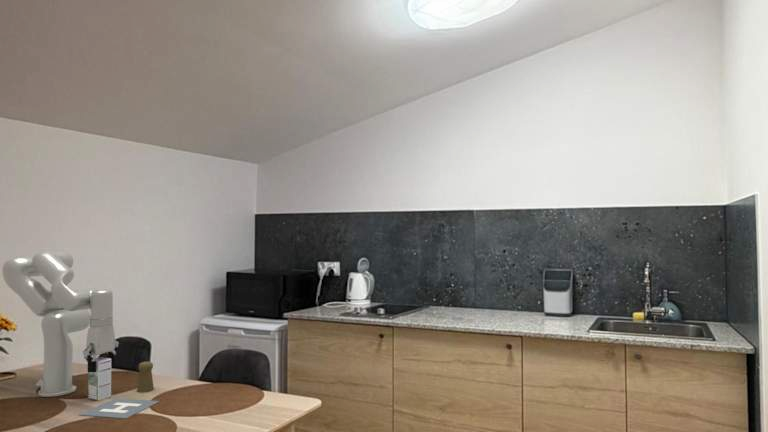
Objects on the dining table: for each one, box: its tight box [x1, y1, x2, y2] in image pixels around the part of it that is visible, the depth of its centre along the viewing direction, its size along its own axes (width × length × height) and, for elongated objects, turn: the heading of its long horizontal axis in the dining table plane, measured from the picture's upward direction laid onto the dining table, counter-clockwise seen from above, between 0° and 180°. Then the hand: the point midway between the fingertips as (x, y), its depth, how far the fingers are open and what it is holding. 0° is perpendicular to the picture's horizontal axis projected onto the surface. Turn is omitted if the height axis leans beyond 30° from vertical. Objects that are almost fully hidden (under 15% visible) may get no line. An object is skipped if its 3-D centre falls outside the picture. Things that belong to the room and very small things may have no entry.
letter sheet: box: [78, 397, 160, 420], centre depth 182 cm, size 18×18×1 cm
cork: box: [136, 361, 155, 394], centre depth 203 cm, size 6×6×11 cm
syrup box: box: [87, 356, 112, 401], centre depth 194 cm, size 6×6×14 cm
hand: (101, 368), depth 194 cm, fingers open, 9 cm apart
